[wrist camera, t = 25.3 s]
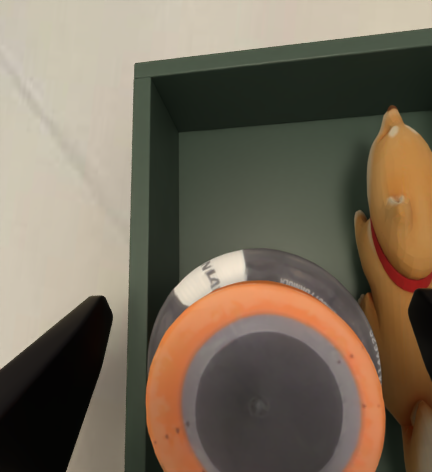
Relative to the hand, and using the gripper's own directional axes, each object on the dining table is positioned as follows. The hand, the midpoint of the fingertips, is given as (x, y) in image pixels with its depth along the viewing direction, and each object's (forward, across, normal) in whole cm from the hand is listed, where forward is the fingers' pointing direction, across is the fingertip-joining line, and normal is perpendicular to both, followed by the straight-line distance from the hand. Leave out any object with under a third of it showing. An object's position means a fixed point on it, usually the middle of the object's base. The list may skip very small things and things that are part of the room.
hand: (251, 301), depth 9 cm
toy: (+5, -7, +6) cm, 10 cm away
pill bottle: (+4, 0, +6) cm, 8 cm away
